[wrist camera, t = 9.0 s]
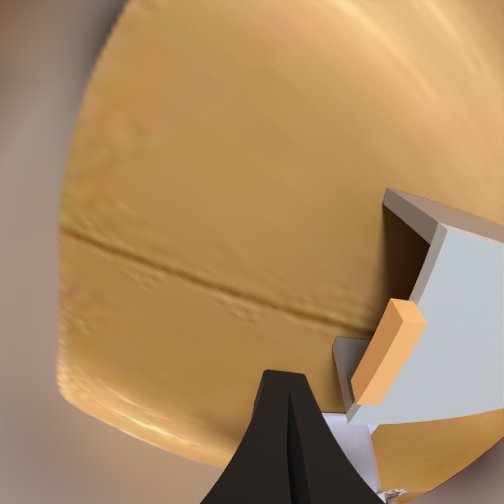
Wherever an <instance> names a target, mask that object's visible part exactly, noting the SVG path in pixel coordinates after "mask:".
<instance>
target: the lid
mask: <svg viewBox="0 0 504 504" xmlns="http://www.w3.org/2000/svg"><path fill="white" fill-rule="evenodd" d="M351 384H352V389H353V393H354V397H355V401H354V403H353V404H352V406H351V407H350V409H349V410H348V412H347V414H346V417H347V423H348V425H373V424H396V423H410V422H421V421H431V420H439V419H447V418H454V417H460V416H466V415H472V414H478V413H483V412H488V411H492V410H497V409H501V408H504V243H501V242H498V241H495V240H492V239H490V238H487V237H483V236H480V235H477V234H474V233H471V232H468V231H465V230H462V229H458V228H455V227H452V226H448V225H445V224H442V223H438V225H437V228H436V231H435V234H434V237H433V240H432V243H431V246H430V248H429V251H428V254H427V256H426V259H425V262H424V264H423V267H422V269H421V272H420V274H419V277H418V279H417V282H416V284H415V286H414V289H413V291H412V293H411V296H410V298H409V300H408V301H406V300H399V299H392V298H390V301H389V303H388V305H387V308H386V310H385V312H384V314H383V317H382V319H381V321H380V323H379V325H378V327H377V330H376V332H375V334H374V336H373V338H372V340H371V342H370V344H369V346H368V348H367V350H366V352H365V354H364V356H363V358H362V360H361V362H360V364H359V366H358V368H357V370H356V371H355V373H354V375H353V377H352V379H351Z"/></svg>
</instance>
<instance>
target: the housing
mask: <svg viewBox="0 0 504 504" xmlns="http://www.w3.org/2000/svg"><path fill="white" fill-rule="evenodd" d="M383 204H384V205H385V206H386V207H387V208H389V209H390V210H391V211H392V212H394V213H395V214H396V215H397V216H398V217H399V218H401V219H402V220H403V221H404V222H405V223H407V224H408V225H409V226H410V227H411V228H412V229H413V230H415V231H416V232H417V233H418V234H419V235H420V236H421V237H422V238H424V239H425V240H426V241H427V242H428V243H429V244H430V245H431V243H432V240H433V237H434V234H435V231H436V228H437V225H438V223H442V224H445V225H448V226H452V227H455V228H458V229H462V230H465V231H468V232H471V233H474V234H477V235H480V236H483V237H487V238H490V239H492V240H495V241H498V242H501V243H504V226H501V225H499V224H496V223H494V222H491V221H488V220H486V219H483V218H480V217H478V216H475V215H472V214H469V213H467V212H464V211H461V210H458V209H455V208H452V207H449V206H446V205H443V204H440V203H437V202H434V201H431V200H428V199H424V198H421V197H418V196H415V195H411V194H408V193H404V192H401V191H397V190H394V189H390V188H387V189H386V192H385V196H384V200H383ZM370 342H371V340H361V339H351V338H342V337H336V339H335V341H334V344H333V346H332V349H333V353H334V358H335V363H336V367H337V372H338V377H339V382H340V386H341V391H342V396H343V401H344V407H345V412H346V414H347V412H348V410H349V409H350V407H351V406H352V404H353V403H354V401H355V397H354V393H353V389H352V384H351V379H352V377H353V375H354V373H355V371H356V370H357V368H358V366H359V364H360V362H361V360H362V358H363V356H364V354H365V352H366V350H367V348H368V346H369V344H370Z"/></svg>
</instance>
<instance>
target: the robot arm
mask: <svg viewBox="0 0 504 504" xmlns="http://www.w3.org/2000/svg"><path fill="white" fill-rule="evenodd" d="M378 425H379V424H373V425H348V423H347V417H346V414H340V413H321V411H320V409H319V406H318V404H317V402H316V400H315V398H314V395H313V393H312V391H311V388H310V386H309V383H308V381H307V378H306V376H305V375H304V374H301V373H292V372H284V371H276V370H269V369H268V370H265V371H264V372H263V375H262V379H261V382H260V385H259V389H258V392H257V395H256V399H255V402H254V408H253V414H252V419H251V422H250V424H249V427H248V429H247V431H246V433H245V435H244V437H243V439H242V441H241V443H240V445H239V447H238V449H237V450H236V452H235V454H234V456H233V457H232V459H231V461H230V462H229V464H228V465H227V467H226V469H225V470H224V472H223V473H222V475H221V476H220V478H219V479H218V481H217V482H216V483H215V485H214V486H213V488H212V489H211V490H210V492H209V493H208V494H207V496H206V497H205V498H204V499H203V501H202V502H201V503H200V504H400V503H399V502H397V501H395V500H394V499H389V500H386V501H385V495H384V493H382V490H381V485H380V479H379V474H378V469H377V464H376V459H375V455H374V450H373V445H372V441H371V436H370V435H371V434H372V433H373V431H374V430H375V429H376V428H377V426H378Z"/></svg>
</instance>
